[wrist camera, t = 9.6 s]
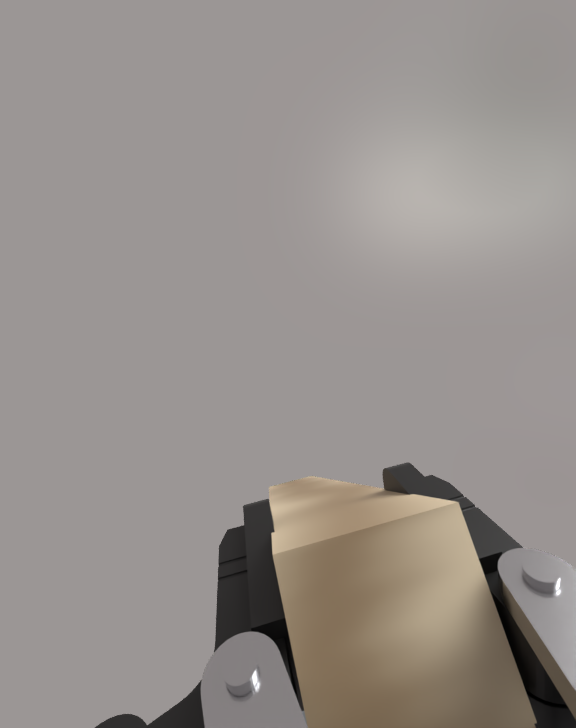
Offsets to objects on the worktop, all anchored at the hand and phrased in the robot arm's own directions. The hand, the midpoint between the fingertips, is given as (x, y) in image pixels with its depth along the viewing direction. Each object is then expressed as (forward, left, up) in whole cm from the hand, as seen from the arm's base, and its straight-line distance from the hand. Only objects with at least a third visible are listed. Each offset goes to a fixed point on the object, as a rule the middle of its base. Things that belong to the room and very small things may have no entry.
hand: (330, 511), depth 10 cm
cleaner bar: (0, +8, -3) cm, 9 cm away
